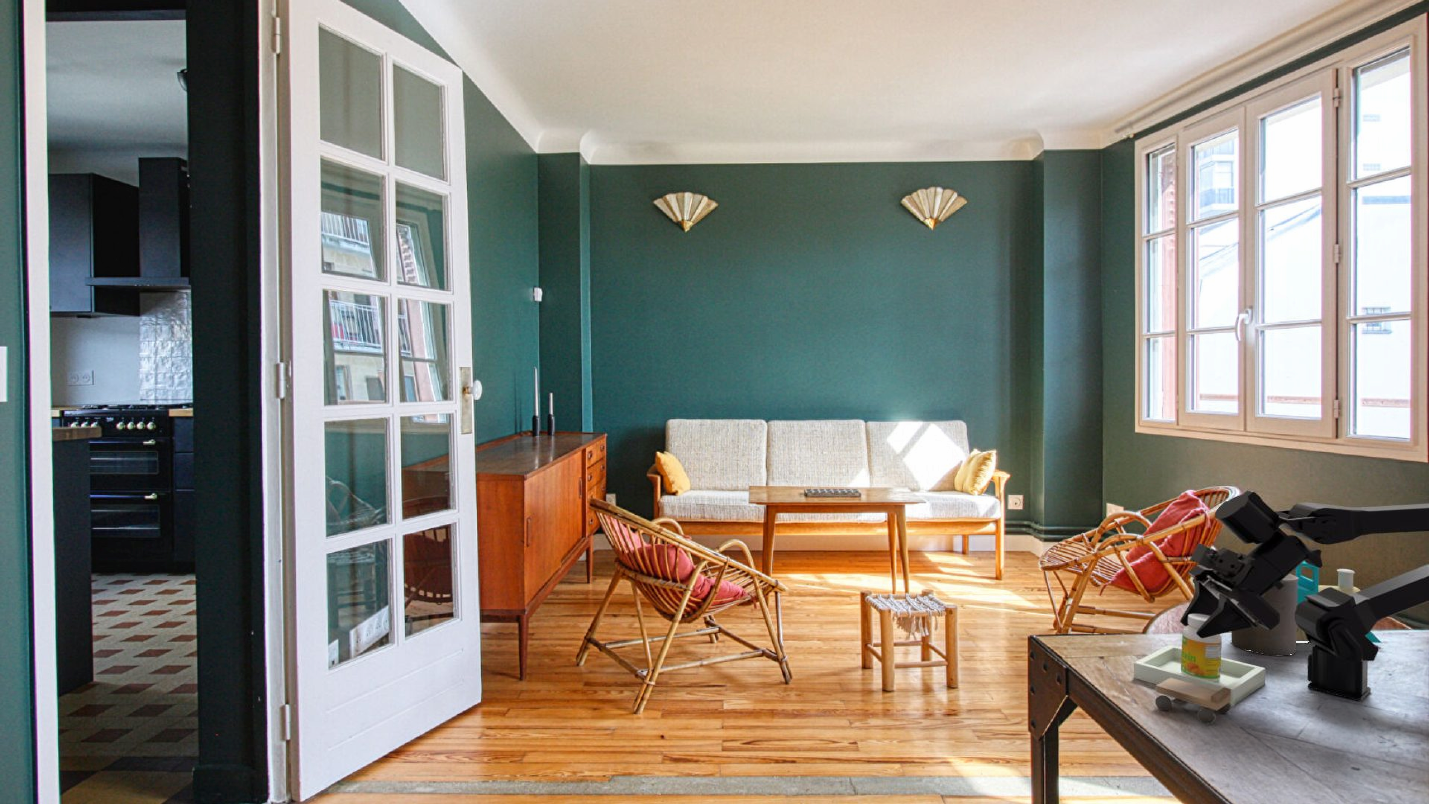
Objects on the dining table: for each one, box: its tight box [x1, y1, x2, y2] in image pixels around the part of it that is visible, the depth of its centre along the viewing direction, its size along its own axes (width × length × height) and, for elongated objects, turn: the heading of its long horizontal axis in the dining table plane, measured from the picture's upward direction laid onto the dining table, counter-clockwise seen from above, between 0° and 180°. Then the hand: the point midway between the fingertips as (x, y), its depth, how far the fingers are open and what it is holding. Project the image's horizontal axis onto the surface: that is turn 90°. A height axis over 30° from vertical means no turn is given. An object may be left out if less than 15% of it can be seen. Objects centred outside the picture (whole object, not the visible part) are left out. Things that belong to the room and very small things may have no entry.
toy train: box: [1295, 561, 1383, 644], centre depth 141 cm, size 8×17×15 cm, turn 78°
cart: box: [1154, 678, 1232, 725], centre depth 110 cm, size 8×7×4 cm
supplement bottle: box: [1181, 614, 1223, 682], centre depth 121 cm, size 5×5×10 cm
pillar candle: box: [1230, 573, 1299, 656], centre depth 137 cm, size 10×10×15 cm
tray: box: [1133, 644, 1266, 707], centre depth 121 cm, size 14×14×2 cm
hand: (1190, 629), depth 121 cm, fingers open, 6 cm apart
